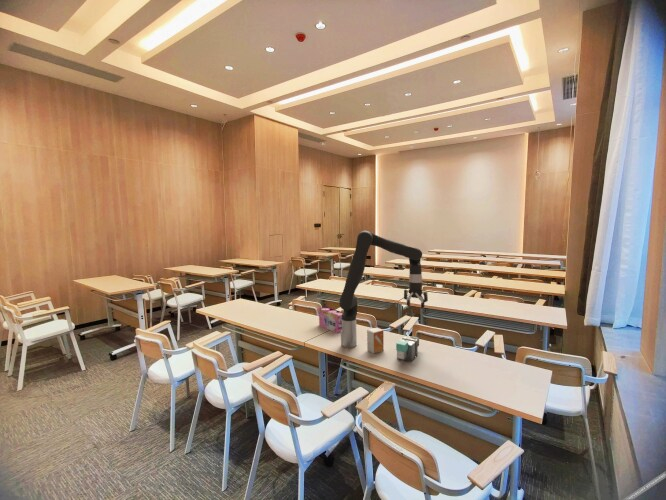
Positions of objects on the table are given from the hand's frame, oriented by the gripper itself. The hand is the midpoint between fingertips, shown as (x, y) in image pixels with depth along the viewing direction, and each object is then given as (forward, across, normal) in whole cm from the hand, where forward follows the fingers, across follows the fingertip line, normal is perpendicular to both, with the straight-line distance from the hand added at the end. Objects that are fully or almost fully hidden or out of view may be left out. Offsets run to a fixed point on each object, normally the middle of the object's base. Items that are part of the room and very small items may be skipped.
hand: (415, 307), depth 187 cm
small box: (+27, -19, -15) cm, 36 cm away
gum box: (+27, -68, +2) cm, 73 cm away
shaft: (+24, 0, -12) cm, 26 cm away
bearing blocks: (+26, 0, -13) cm, 29 cm away
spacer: (+19, +1, -21) cm, 28 cm away
